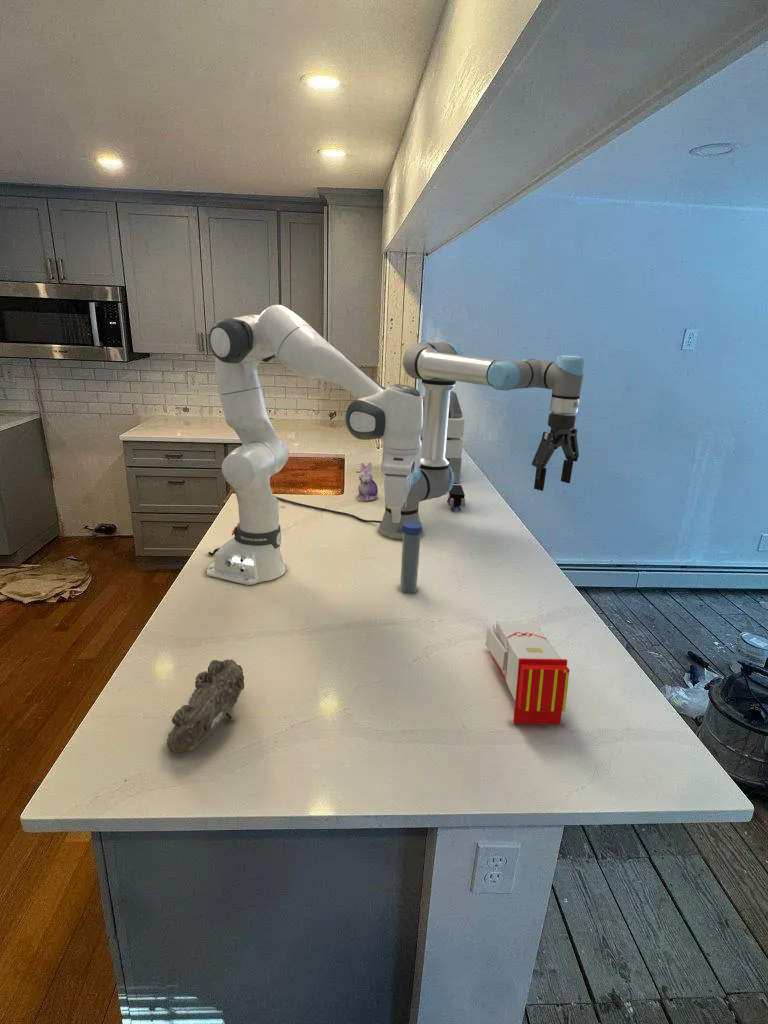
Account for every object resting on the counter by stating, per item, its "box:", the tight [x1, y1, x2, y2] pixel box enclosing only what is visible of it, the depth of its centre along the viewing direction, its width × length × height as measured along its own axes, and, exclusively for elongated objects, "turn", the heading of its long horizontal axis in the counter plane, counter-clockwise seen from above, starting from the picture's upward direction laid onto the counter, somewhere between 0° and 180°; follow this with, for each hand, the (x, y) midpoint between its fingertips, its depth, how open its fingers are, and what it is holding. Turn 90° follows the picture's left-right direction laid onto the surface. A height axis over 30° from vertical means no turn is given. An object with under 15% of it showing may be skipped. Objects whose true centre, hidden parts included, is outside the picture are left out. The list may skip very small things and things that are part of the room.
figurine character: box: [446, 484, 466, 511], centre depth 229 cm, size 7×8×15 cm
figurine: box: [357, 461, 379, 502], centre depth 233 cm, size 9×10×15 cm
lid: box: [402, 521, 423, 535], centre depth 155 cm, size 5×5×2 cm
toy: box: [485, 620, 570, 725], centre depth 121 cm, size 12×13×30 cm
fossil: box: [166, 658, 245, 754], centre depth 106 cm, size 22×10×15 cm
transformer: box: [421, 390, 465, 484], centre depth 268 cm, size 34×33×41 cm
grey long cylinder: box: [399, 533, 422, 594], centre depth 158 cm, size 5×5×19 cm
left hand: (399, 514), depth 134 cm, fingers open, 8 cm apart
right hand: (552, 485), depth 166 cm, fingers open, 13 cm apart
